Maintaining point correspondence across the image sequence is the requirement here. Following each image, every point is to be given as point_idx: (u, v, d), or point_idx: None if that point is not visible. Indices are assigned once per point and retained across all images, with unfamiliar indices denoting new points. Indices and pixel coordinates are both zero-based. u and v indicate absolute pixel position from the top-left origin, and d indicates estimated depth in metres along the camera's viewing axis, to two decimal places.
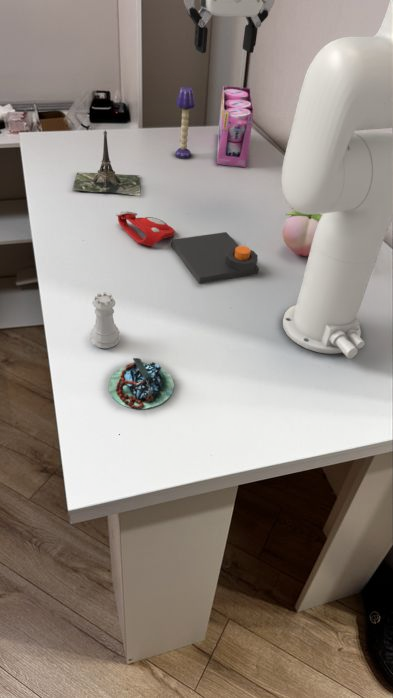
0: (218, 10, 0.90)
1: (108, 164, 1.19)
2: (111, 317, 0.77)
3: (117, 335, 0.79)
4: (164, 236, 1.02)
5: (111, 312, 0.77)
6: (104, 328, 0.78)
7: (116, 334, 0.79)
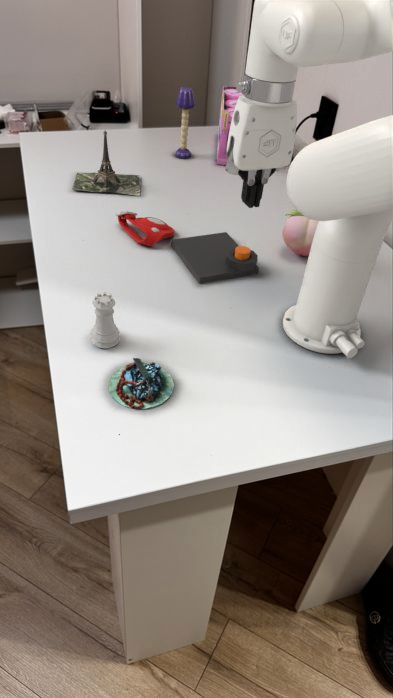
0: (247, 166, 0.83)
1: (108, 164, 1.19)
2: (111, 317, 0.77)
3: (117, 335, 0.79)
4: (164, 236, 1.02)
5: (111, 312, 0.77)
6: (104, 328, 0.78)
7: (116, 334, 0.79)
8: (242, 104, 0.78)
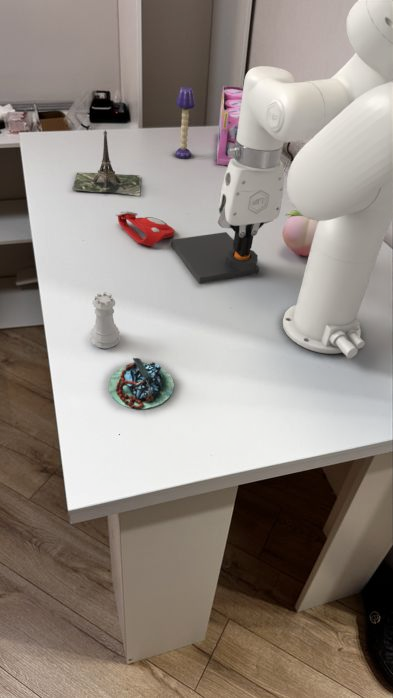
0: (237, 222, 0.89)
1: (108, 164, 1.19)
2: (111, 317, 0.77)
3: (117, 335, 0.79)
4: (164, 236, 1.02)
5: (111, 312, 0.77)
6: (104, 328, 0.78)
7: (116, 334, 0.79)
8: (233, 168, 0.85)
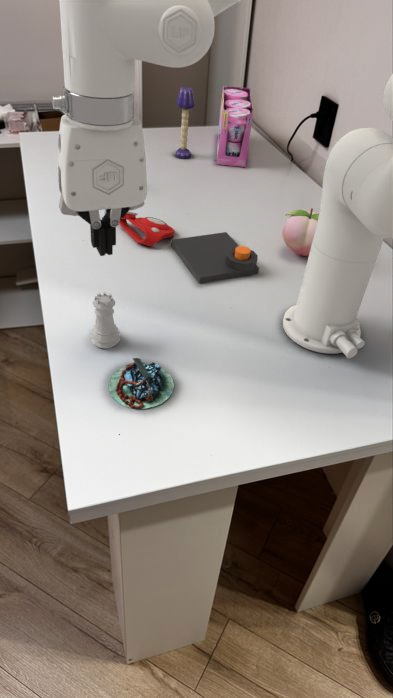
0: (80, 206, 0.63)
1: None
2: (111, 317, 0.77)
3: (117, 335, 0.79)
4: (164, 236, 1.02)
5: (111, 312, 0.77)
6: (104, 328, 0.78)
7: (116, 334, 0.79)
8: (62, 125, 0.58)
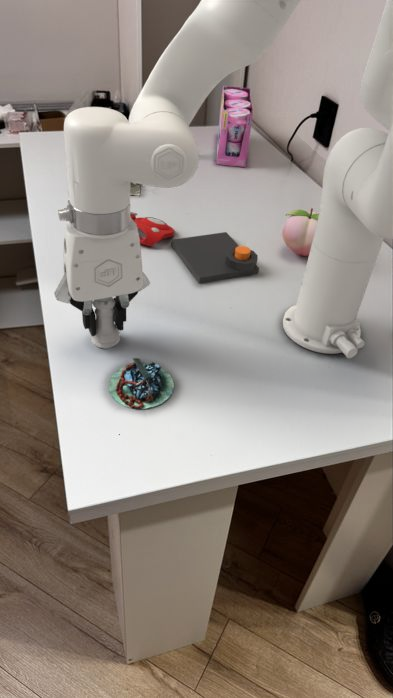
0: (84, 297, 0.71)
1: None
2: (111, 317, 0.77)
3: (117, 335, 0.79)
4: (164, 236, 1.02)
5: (111, 312, 0.77)
6: (104, 328, 0.78)
7: (116, 334, 0.79)
8: (67, 233, 0.66)
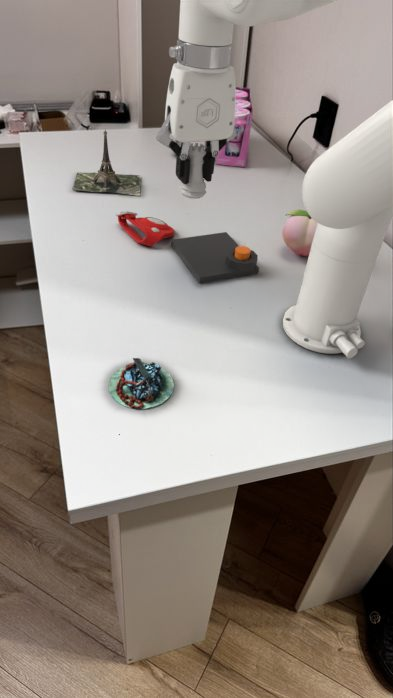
0: (185, 137, 0.79)
1: (108, 164, 1.19)
2: (201, 167, 0.86)
3: (205, 186, 0.88)
4: (164, 236, 1.02)
5: (202, 161, 0.85)
6: (194, 177, 0.86)
7: (204, 185, 0.88)
8: (176, 70, 0.75)
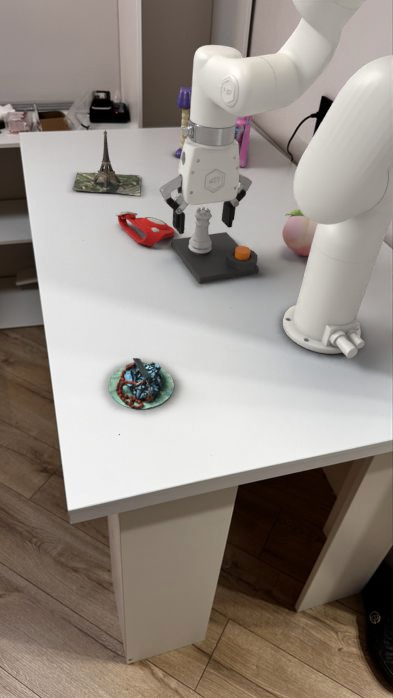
0: (195, 201, 0.90)
1: (108, 164, 1.19)
2: (207, 227, 0.98)
3: (211, 244, 1.00)
4: (164, 236, 1.02)
5: (208, 223, 0.97)
6: (201, 237, 0.98)
7: (210, 242, 1.00)
8: (187, 146, 0.86)
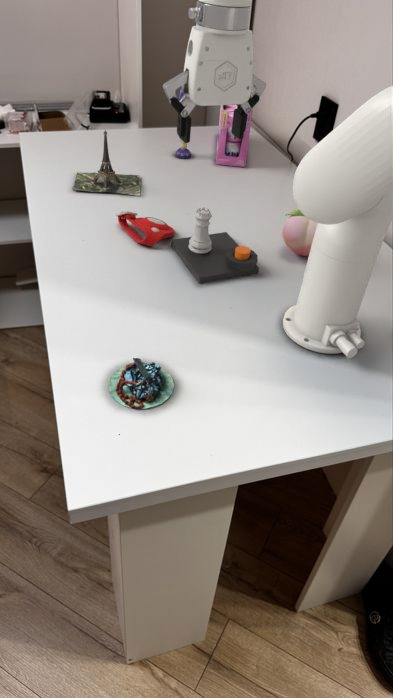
0: (202, 100, 0.80)
1: (108, 164, 1.19)
2: (207, 227, 0.98)
3: (211, 244, 1.00)
4: (164, 236, 1.02)
5: (208, 223, 0.97)
6: (201, 237, 0.98)
7: (210, 242, 1.00)
8: (195, 32, 0.76)
